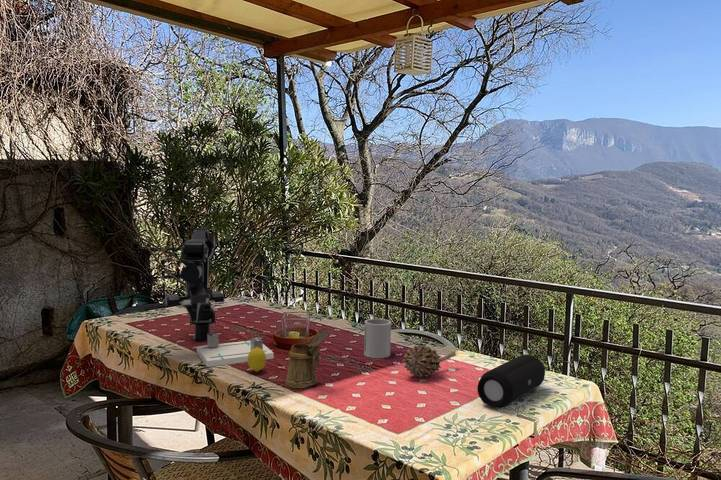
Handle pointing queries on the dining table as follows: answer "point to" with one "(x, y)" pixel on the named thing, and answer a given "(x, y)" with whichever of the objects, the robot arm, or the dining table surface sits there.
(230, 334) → the dining table surface
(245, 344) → the slotted white panel
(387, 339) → the cup
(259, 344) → the fader
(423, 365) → the pine cone
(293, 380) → the wooden mug
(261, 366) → the lemon
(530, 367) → the portable speaker
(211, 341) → the fader
